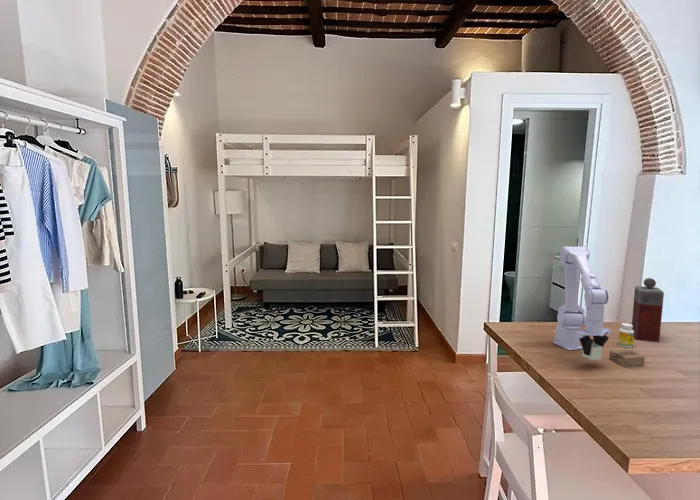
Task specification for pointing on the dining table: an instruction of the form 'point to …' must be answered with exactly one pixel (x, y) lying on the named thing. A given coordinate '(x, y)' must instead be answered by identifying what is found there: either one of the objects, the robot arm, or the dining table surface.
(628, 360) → the walnut block
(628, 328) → the supplement bottle
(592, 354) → the sage block
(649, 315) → the red lidded box
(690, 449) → the dining table surface
